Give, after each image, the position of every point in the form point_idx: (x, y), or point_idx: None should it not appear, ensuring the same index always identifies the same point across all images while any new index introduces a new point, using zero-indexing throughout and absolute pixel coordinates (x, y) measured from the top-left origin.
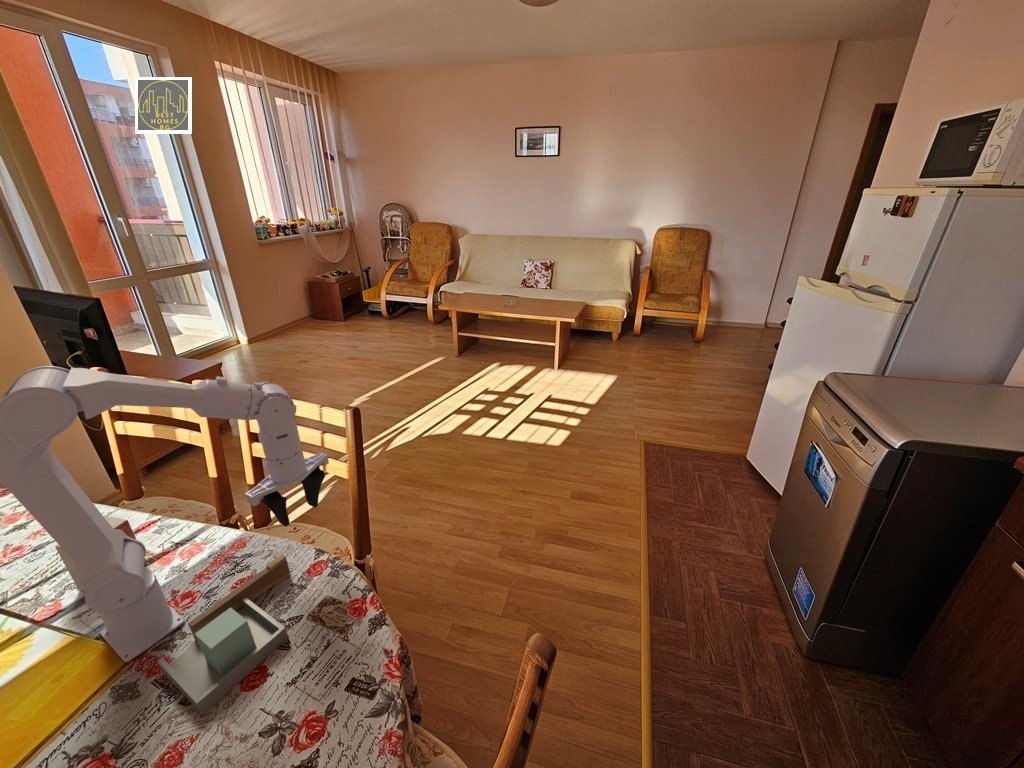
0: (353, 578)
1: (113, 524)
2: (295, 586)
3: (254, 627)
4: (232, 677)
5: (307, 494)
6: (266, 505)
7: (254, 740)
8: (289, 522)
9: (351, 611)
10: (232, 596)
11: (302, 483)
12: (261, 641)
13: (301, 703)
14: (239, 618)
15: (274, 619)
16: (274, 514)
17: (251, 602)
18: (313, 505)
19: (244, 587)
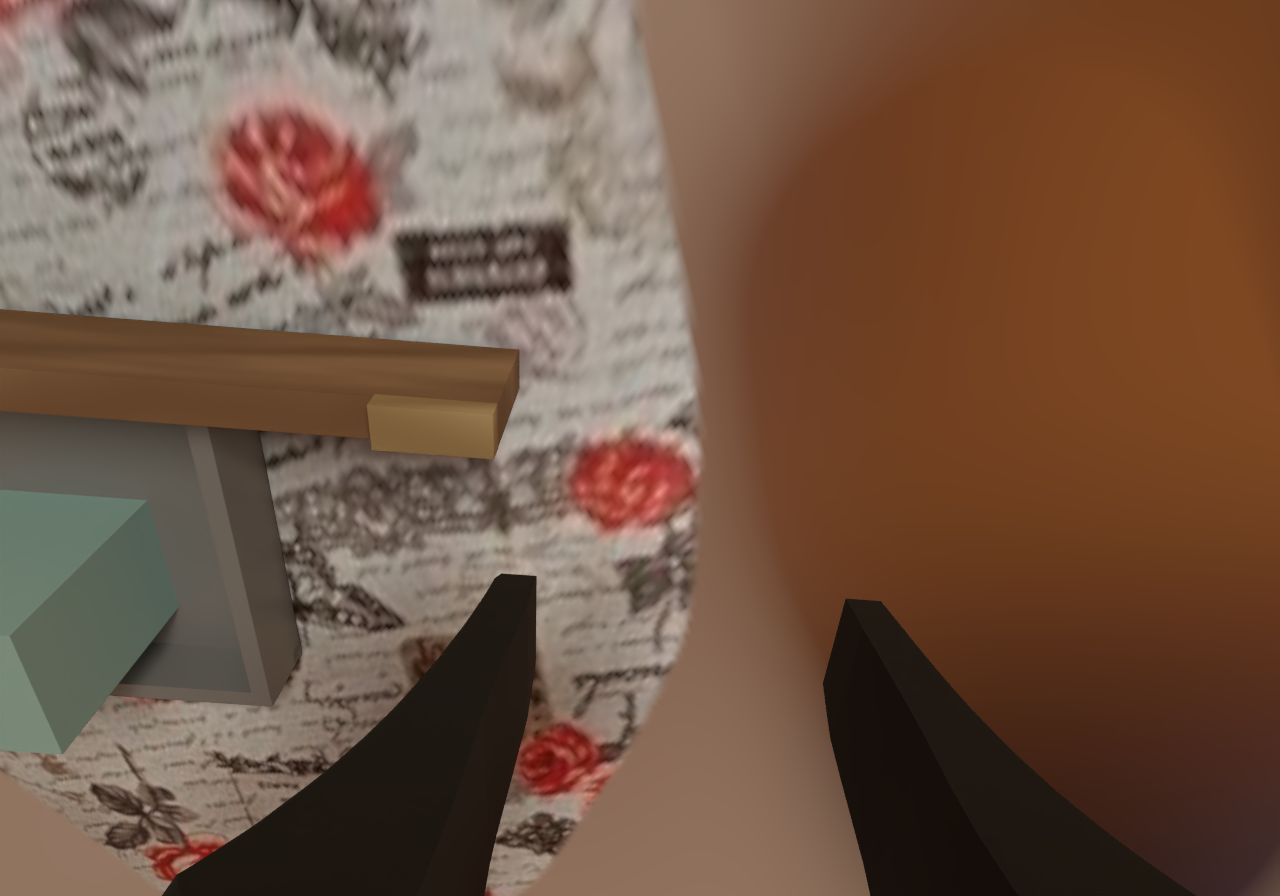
0: (664, 667)
1: None
2: (480, 478)
3: (209, 524)
4: None
5: (882, 724)
6: (346, 754)
7: (76, 789)
8: (530, 692)
9: (530, 753)
10: (117, 414)
11: (955, 814)
12: (204, 602)
13: (221, 817)
14: (32, 723)
15: (257, 645)
16: (450, 646)
17: (215, 482)
18: (829, 690)
19: (197, 419)
